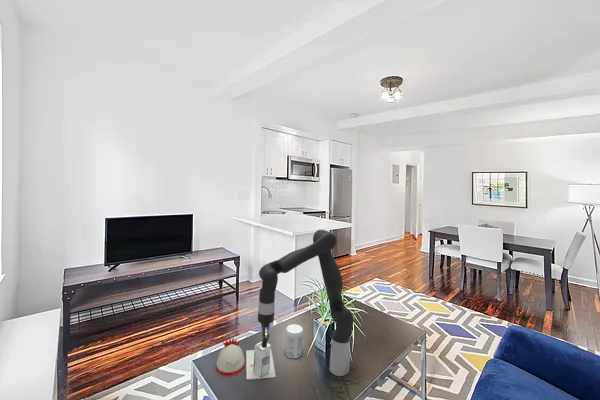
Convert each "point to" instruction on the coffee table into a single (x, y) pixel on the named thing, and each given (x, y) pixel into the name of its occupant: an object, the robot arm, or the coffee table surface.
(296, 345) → the supplement tub
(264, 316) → the robot arm
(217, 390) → the coffee table surface
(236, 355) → the kitchen timer
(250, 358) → the white rectangular board
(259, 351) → the syrup box
